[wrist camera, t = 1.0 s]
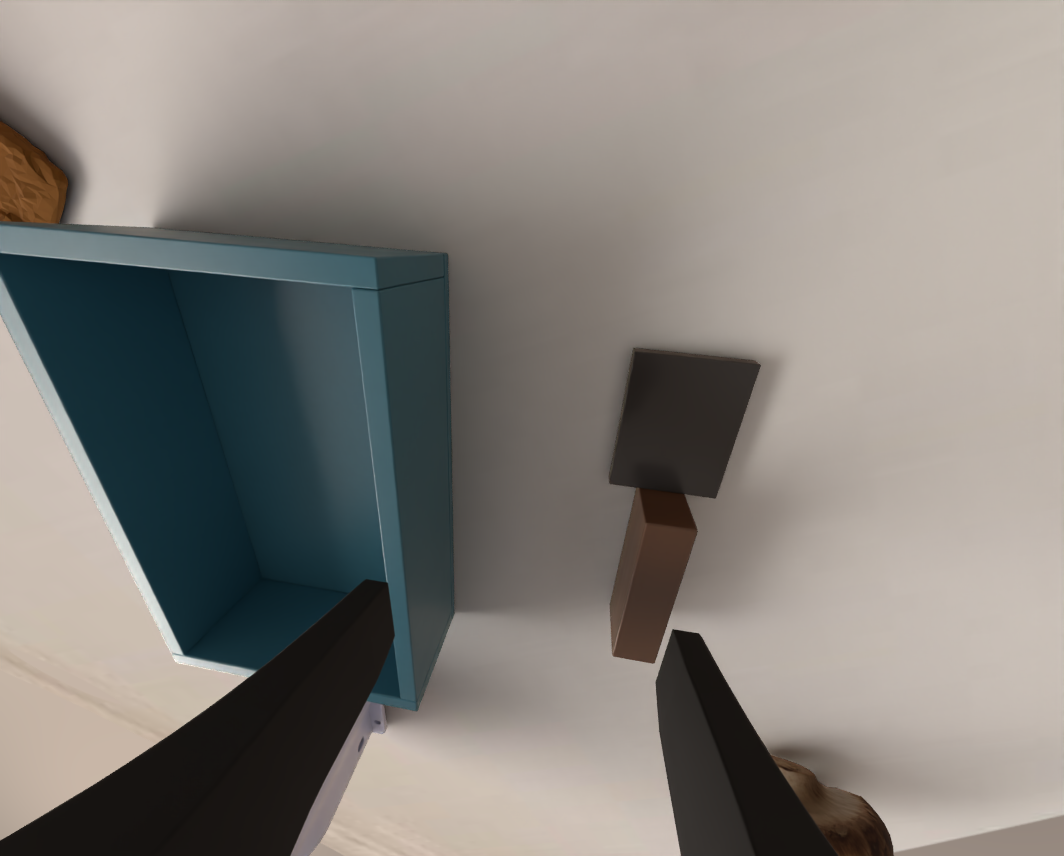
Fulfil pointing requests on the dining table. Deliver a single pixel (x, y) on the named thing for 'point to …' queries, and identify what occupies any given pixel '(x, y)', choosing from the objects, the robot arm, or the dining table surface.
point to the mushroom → (839, 814)
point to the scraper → (668, 478)
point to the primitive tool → (28, 181)
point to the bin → (251, 427)
